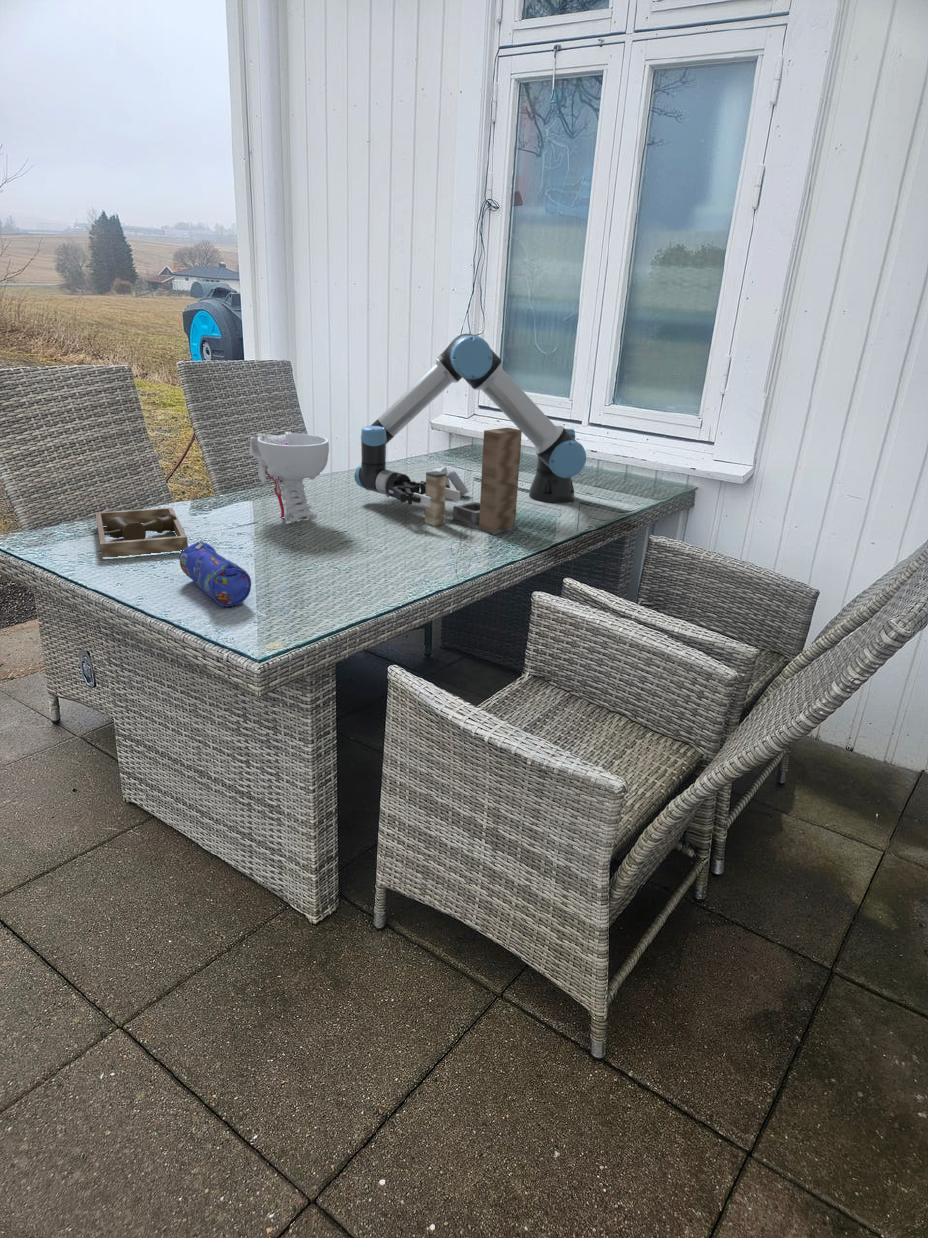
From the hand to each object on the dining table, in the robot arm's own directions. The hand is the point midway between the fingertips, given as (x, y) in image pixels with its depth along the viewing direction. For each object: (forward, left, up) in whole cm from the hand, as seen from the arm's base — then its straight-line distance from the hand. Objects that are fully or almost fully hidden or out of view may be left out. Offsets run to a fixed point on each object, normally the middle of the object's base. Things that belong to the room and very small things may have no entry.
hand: (444, 499), depth 220 cm
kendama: (+81, -12, -8) cm, 82 cm away
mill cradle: (+80, -12, -8) cm, 82 cm away
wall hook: (-18, -34, -8) cm, 39 cm away
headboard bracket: (-12, +2, -8) cm, 15 cm away
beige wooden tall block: (+1, -4, -8) cm, 9 cm away
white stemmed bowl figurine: (+39, -21, -8) cm, 45 cm away
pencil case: (+69, +32, -8) cm, 77 cm away
